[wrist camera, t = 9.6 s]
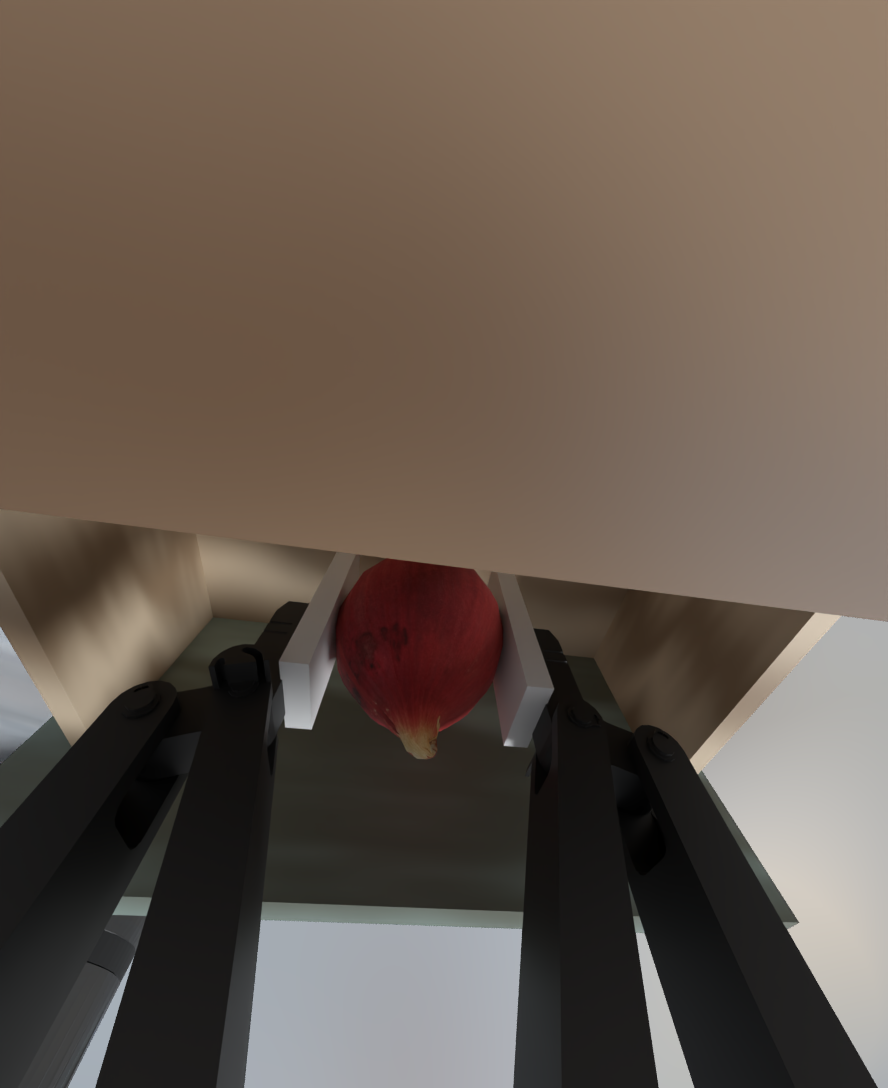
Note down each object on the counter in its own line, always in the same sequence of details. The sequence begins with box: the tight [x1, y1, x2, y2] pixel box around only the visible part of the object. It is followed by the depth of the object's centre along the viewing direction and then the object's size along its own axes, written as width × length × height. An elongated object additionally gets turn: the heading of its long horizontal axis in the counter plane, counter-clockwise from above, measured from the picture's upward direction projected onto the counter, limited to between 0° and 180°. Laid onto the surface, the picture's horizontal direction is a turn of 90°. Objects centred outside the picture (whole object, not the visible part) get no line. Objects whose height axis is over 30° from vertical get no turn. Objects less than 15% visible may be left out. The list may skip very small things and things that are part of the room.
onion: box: [336, 558, 503, 759], centre depth 12 cm, size 6×6×8 cm
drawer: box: [0, 509, 841, 933], centre depth 13 cm, size 16×26×12 cm, turn 81°
